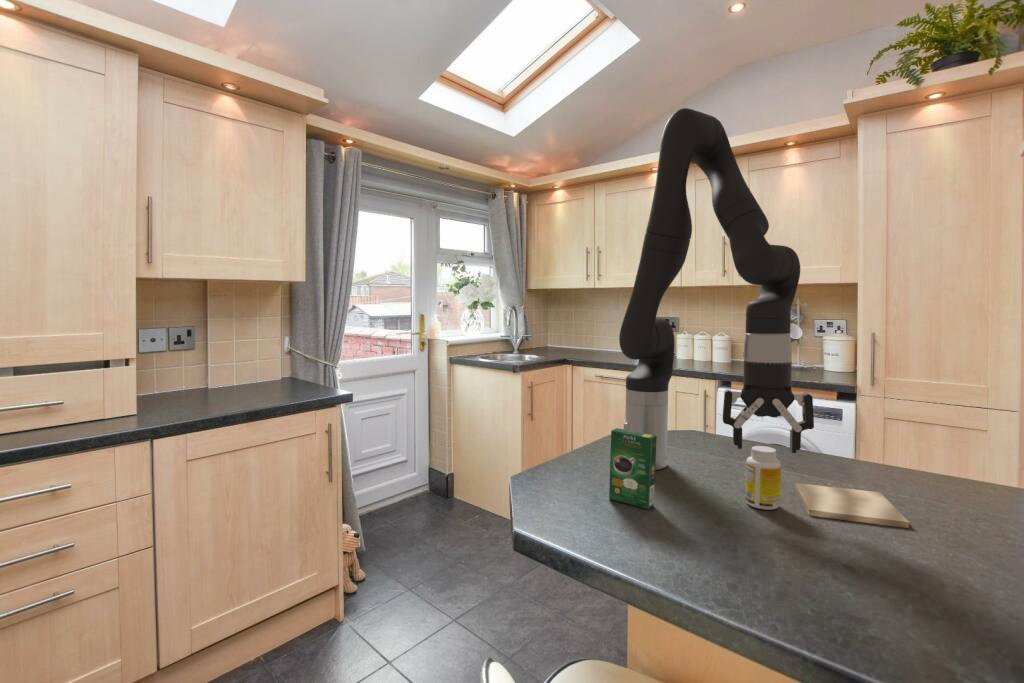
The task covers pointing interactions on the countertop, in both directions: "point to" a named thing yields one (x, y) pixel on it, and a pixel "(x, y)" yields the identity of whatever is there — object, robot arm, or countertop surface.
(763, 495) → the supplement bottle
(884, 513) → the oak board
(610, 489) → the coffee box
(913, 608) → the countertop surface
